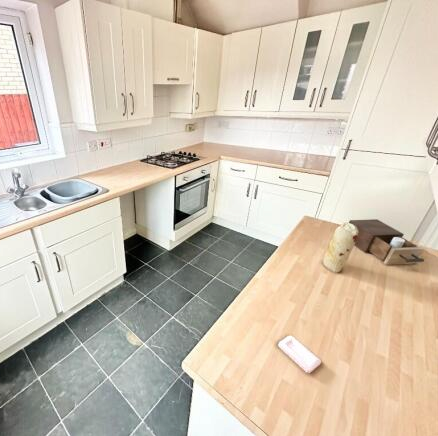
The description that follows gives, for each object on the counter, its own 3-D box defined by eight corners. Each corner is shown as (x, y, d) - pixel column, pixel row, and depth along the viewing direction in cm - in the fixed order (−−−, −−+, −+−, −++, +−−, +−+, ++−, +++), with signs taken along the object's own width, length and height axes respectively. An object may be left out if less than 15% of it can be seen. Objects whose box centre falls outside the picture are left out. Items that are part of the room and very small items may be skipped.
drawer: (425, 270, 96) (435, 255, 93) (395, 271, 96) (404, 256, 93) (387, 246, 111) (395, 232, 107) (361, 247, 111) (368, 233, 107)
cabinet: (393, 251, 109) (404, 234, 104) (364, 252, 109) (373, 235, 104) (368, 235, 121) (377, 219, 116) (342, 236, 120) (349, 220, 116)
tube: (392, 252, 105) (400, 237, 102) (398, 257, 102) (408, 242, 98) (382, 251, 106) (390, 236, 102) (388, 257, 103) (397, 241, 99)
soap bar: (307, 376, 63) (310, 370, 62) (276, 347, 70) (278, 342, 69) (319, 366, 65) (322, 360, 64) (288, 339, 73) (290, 333, 71)
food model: (344, 276, 95) (365, 233, 86) (325, 272, 98) (343, 230, 88) (337, 261, 103) (356, 221, 94) (319, 258, 106) (335, 218, 96)
